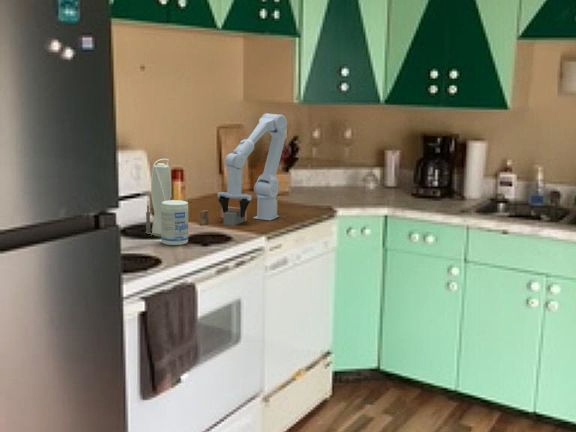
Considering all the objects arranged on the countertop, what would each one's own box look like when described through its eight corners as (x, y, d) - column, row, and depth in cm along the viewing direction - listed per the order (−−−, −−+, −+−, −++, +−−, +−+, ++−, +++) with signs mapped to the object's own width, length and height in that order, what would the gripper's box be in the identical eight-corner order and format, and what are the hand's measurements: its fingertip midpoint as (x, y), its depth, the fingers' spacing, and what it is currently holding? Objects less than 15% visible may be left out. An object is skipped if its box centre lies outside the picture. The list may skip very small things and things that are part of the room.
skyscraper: (159, 230, 254) (158, 157, 248) (176, 232, 251) (176, 159, 245) (144, 234, 247) (143, 159, 241) (162, 237, 243) (161, 161, 237)
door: (220, 218, 278) (221, 206, 277) (222, 217, 279) (222, 205, 278) (245, 221, 274) (245, 209, 273) (246, 220, 275) (246, 208, 274)
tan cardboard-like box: (224, 216, 283) (224, 203, 282) (227, 216, 283) (227, 203, 282) (199, 225, 265) (200, 211, 264) (203, 225, 264) (203, 212, 263)
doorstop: (233, 221, 275) (234, 209, 274) (243, 222, 274) (243, 210, 273) (223, 225, 267) (223, 213, 266) (233, 226, 265) (233, 214, 264)
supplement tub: (179, 247, 230) (179, 205, 227) (155, 244, 233) (155, 203, 230) (193, 241, 239) (193, 201, 236) (170, 238, 242) (170, 198, 239)
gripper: (213, 182, 266) (213, 215, 269) (246, 186, 261) (245, 219, 264) (222, 180, 273) (221, 212, 275) (254, 183, 267) (253, 216, 270)
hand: (234, 216), depth 270 cm, fingers open, 7 cm apart
